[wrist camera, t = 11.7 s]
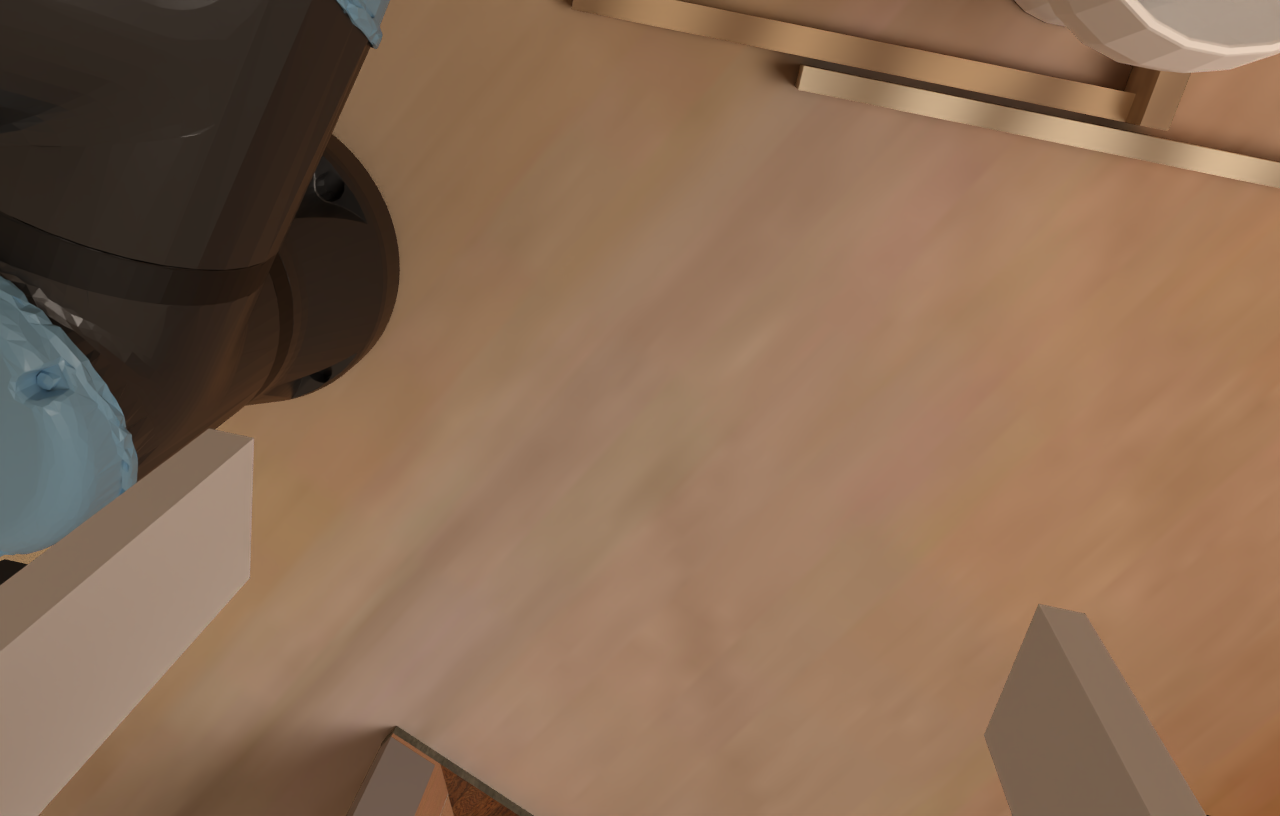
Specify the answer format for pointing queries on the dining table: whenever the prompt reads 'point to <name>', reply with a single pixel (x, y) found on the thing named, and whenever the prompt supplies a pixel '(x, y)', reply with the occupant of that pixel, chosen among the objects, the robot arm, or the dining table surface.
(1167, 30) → the cup
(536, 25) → the dining table surface
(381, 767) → the cabinet
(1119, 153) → the lane rails
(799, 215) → the dining table surface
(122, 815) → the dining table surface
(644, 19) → the rail with green post
